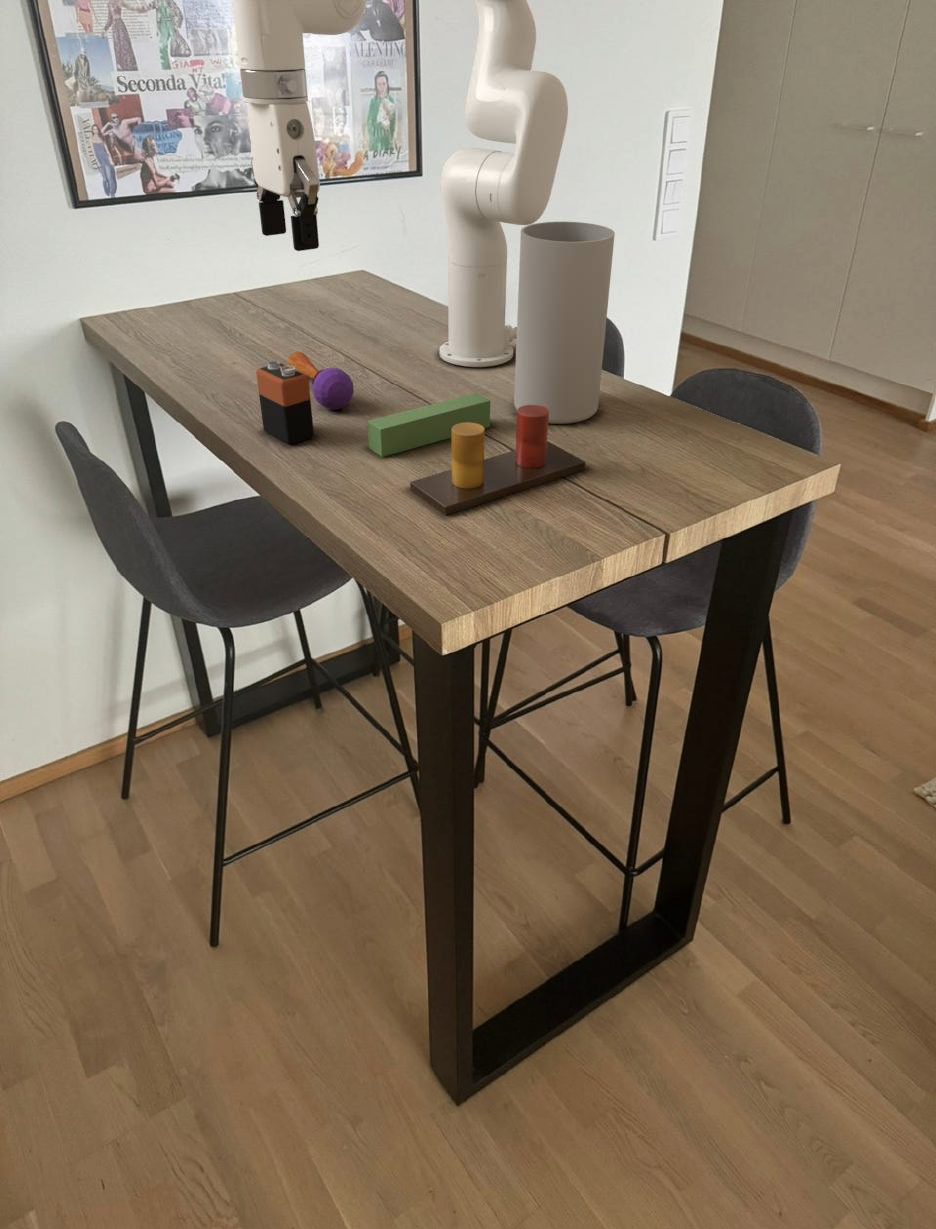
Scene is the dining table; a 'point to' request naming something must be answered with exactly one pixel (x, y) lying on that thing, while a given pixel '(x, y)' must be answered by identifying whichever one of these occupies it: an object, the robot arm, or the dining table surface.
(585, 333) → the cylinder vase
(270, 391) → the battery
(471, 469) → the rod stand
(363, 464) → the dining table surface
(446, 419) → the green bar
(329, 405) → the kendama
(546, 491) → the dining table surface
